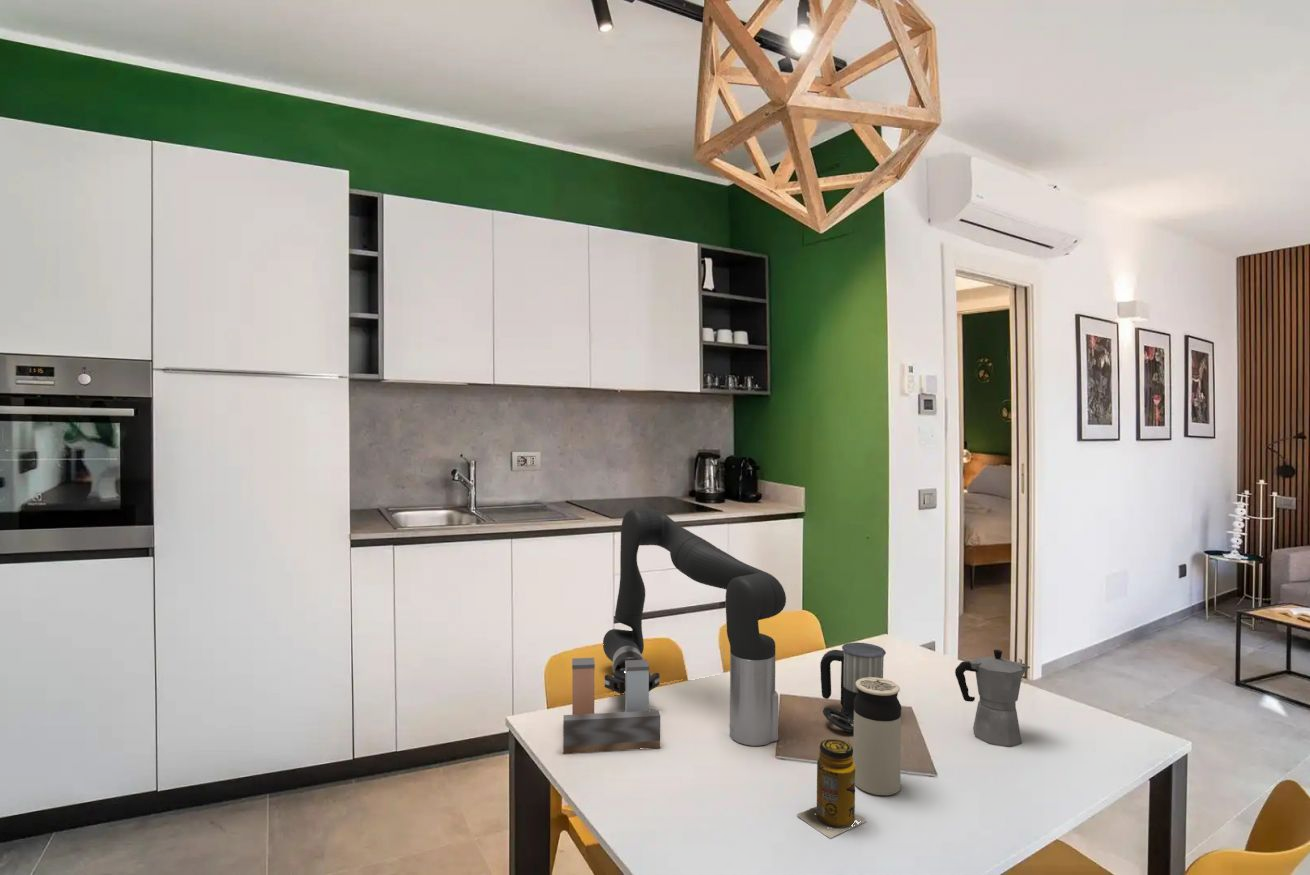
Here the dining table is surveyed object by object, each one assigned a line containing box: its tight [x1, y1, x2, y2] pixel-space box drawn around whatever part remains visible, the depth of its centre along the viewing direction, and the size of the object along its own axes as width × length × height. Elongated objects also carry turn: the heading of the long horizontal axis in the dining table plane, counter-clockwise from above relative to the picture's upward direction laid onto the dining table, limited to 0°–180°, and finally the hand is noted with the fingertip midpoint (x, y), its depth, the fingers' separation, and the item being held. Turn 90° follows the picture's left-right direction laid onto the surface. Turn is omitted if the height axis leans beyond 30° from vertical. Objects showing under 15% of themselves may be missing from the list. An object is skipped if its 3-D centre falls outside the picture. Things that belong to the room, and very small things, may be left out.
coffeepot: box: [954, 649, 1031, 748], centre depth 139 cm, size 15×9×18 cm, turn 92°
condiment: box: [796, 738, 867, 839], centre depth 110 cm, size 7×8×12 cm
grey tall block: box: [624, 659, 650, 712], centre depth 140 cm, size 5×4×13 cm
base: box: [562, 710, 661, 755], centre depth 140 cm, size 19×14×6 cm
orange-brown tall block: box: [571, 657, 596, 715], centre depth 141 cm, size 5×4×13 cm
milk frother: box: [819, 641, 887, 733], centre depth 147 cm, size 14×16×15 cm
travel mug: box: [853, 677, 902, 796], centre depth 120 cm, size 8×8×18 cm
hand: (635, 695), depth 142 cm, fingers closed
